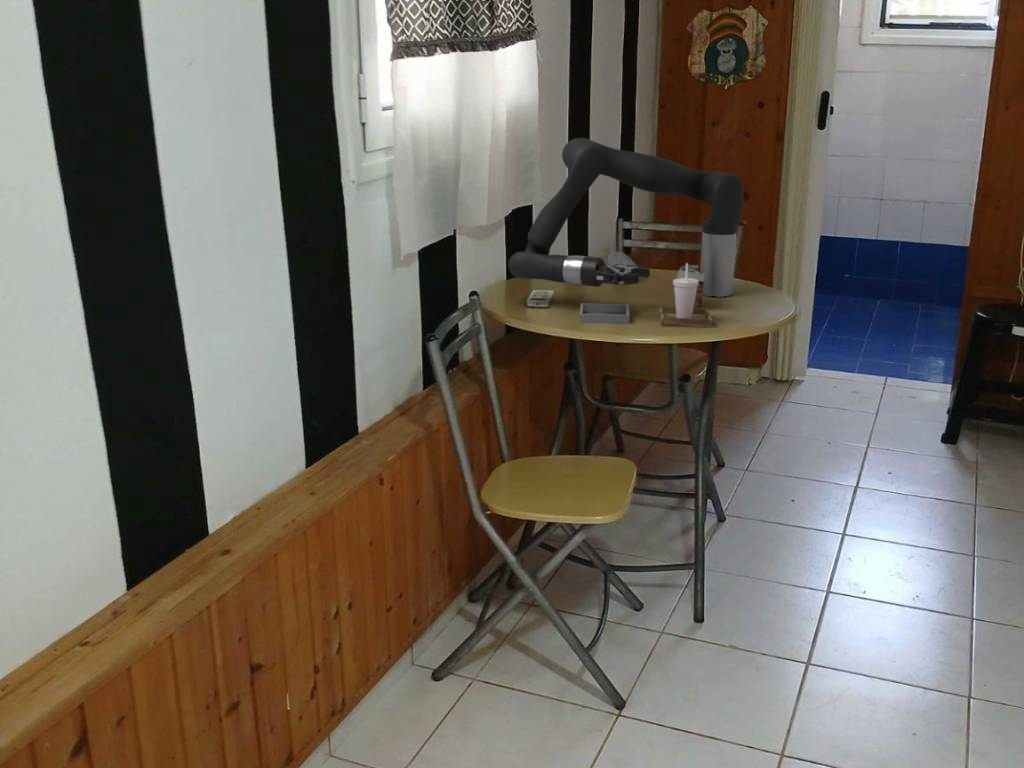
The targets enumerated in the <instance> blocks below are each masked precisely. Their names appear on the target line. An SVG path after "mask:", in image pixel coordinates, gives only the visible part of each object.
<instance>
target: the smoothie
mask: <svg viewBox="0 0 1024 768" xmlns="http://www.w3.org/2000/svg"><path fill="white" fill-rule="evenodd" d="M688 265H689V263H687V262H686V263H685V266H686V274H685V278H679V277H677V278H674V279H672V285H673V286H674V287H673V288H674V291H673V292H674V301H675V303H674V304H675V307H676V317H677V318H692V313H693V308H694V302H695V296H696V291H697V286H698V285H699V281H698V280H696V279H691V278H688Z"/></svg>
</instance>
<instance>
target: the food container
mask: <svg viewBox="0 0 1024 768" xmlns="http://www.w3.org/2000/svg"><path fill="white" fill-rule="evenodd" d="M685 274H686V265H684V266H680V267H679V269H678V271H677V275H676V276H677V278H685ZM688 278H691V279H696V280H698V281H699V285H698V286H697V291H696V296H695V302H694V308H703V296H704V295H703V284H704V273H701V271H700V270H699V264H698V265H697V264H691V265H690V264H688Z"/></svg>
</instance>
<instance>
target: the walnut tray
mask: <svg viewBox="0 0 1024 768" xmlns="http://www.w3.org/2000/svg"><path fill="white" fill-rule="evenodd" d="M658 317H659V322H661V323H660V326H661V327H676V326H679V327H678V328H681V326H687V327H686V328H712V327H713V326H712V324H713V319H712V316H711V314H710V311H709V309H708V308H707V307H702V308H693V313H692V318H677V317H676V306H673V307H672V306H669V307H668V306H665V307H664V306H659V307H658Z"/></svg>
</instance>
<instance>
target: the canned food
mask: <svg viewBox="0 0 1024 768" xmlns="http://www.w3.org/2000/svg"><path fill="white" fill-rule="evenodd" d="M607 263H608V266H610V265H611V264H615V263H616V264H625V265H636V268H639V267H638V266H637V264H636V263H635V262H634V261H633V259H631V258H630V257H629V256H628V255H627V254H625V253H624V252H623V251H617V250H616V251H612V252H610V254H609V255H608V256H607ZM621 269H622V268H621ZM627 272H631V269H628V270H627ZM617 285H618V286H619V285H621V286H624V285H629V286H630V285H634V284H633V283H622V284H620V283H619V284H617ZM617 285H616V286H617Z"/></svg>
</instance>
